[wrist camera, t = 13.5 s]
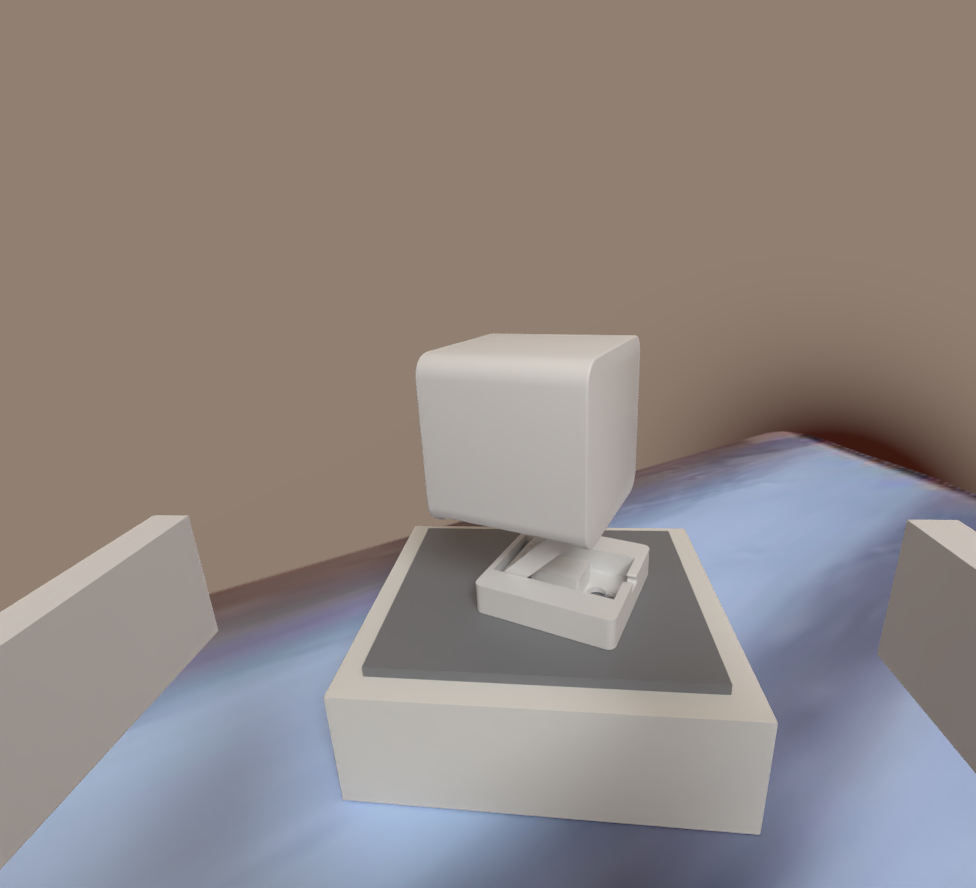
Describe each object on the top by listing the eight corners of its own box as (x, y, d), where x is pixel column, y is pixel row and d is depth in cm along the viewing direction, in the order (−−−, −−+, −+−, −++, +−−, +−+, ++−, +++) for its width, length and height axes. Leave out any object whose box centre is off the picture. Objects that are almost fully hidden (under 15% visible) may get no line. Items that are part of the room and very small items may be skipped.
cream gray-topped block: (343, 800, 19) (321, 687, 17) (423, 598, 30) (414, 519, 28) (760, 834, 17) (779, 712, 15) (678, 605, 28) (685, 521, 27)
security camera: (507, 535, 26) (497, 331, 23) (651, 566, 23) (664, 333, 20) (436, 607, 21) (411, 355, 18) (610, 660, 18) (618, 363, 14)
